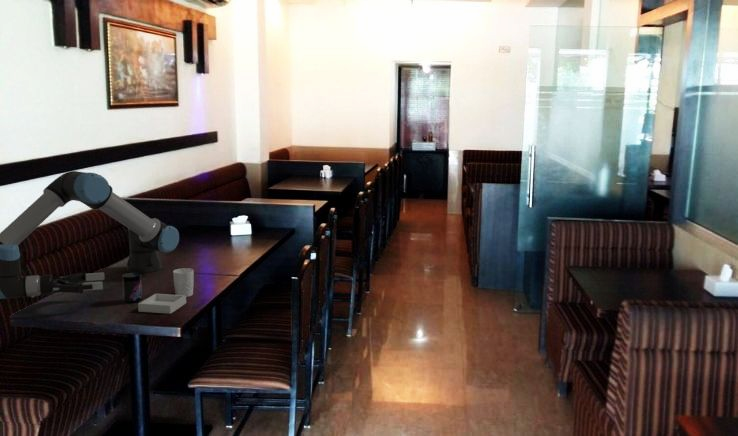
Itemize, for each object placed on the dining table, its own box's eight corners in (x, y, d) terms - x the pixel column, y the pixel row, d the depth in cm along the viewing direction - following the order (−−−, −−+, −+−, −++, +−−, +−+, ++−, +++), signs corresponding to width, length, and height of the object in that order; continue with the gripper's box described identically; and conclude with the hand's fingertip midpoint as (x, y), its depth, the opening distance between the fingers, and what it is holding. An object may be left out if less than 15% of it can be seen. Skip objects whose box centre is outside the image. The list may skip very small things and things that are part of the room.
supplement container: (126, 304, 235) (124, 278, 234) (121, 300, 241) (120, 274, 239) (144, 301, 239) (143, 275, 237) (139, 297, 245) (138, 271, 243)
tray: (138, 311, 228) (138, 303, 227) (155, 301, 240) (155, 293, 239) (170, 313, 226) (170, 305, 225) (186, 302, 238) (185, 295, 237)
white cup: (187, 290, 253) (185, 267, 252) (198, 294, 249) (197, 270, 247) (170, 295, 247) (168, 271, 246) (181, 299, 243) (180, 274, 241)
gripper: (45, 286, 240) (105, 281, 247) (36, 305, 217) (102, 299, 224) (44, 267, 238) (104, 263, 246) (34, 284, 215) (101, 279, 223)
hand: (103, 280), depth 235 cm, fingers open, 13 cm apart
